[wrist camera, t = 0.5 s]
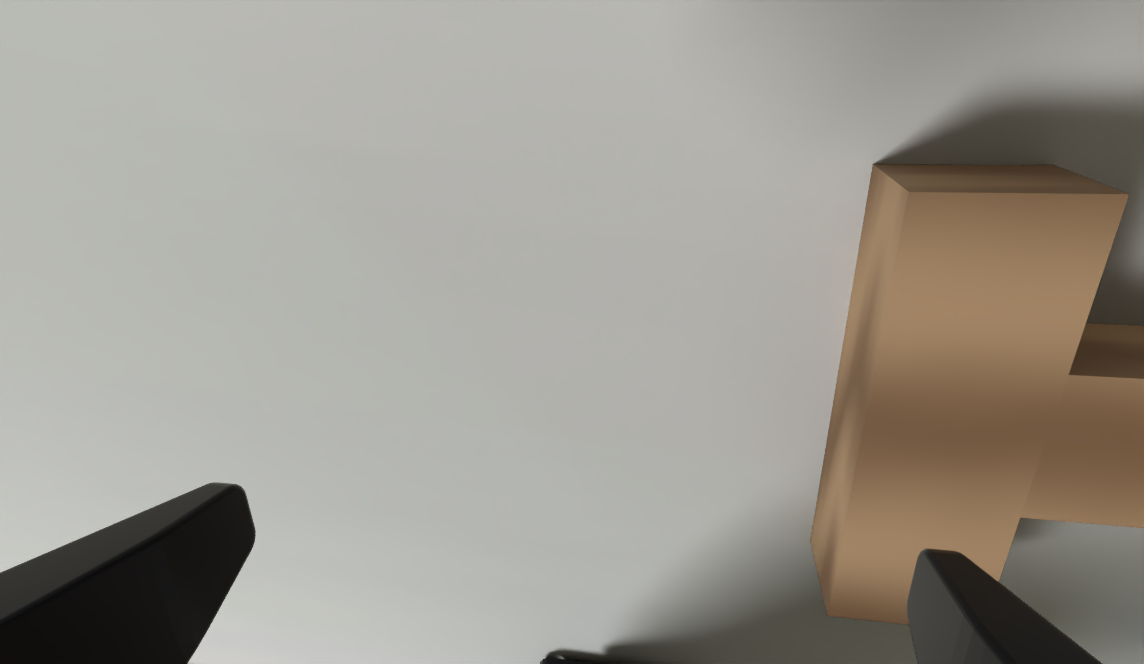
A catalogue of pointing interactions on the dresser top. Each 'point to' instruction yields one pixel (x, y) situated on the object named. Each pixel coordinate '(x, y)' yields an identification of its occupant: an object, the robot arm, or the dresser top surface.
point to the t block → (975, 378)
